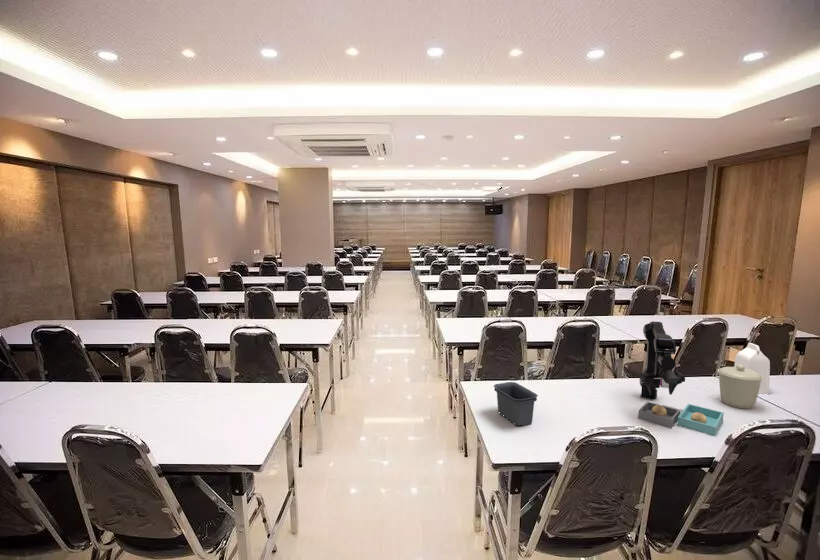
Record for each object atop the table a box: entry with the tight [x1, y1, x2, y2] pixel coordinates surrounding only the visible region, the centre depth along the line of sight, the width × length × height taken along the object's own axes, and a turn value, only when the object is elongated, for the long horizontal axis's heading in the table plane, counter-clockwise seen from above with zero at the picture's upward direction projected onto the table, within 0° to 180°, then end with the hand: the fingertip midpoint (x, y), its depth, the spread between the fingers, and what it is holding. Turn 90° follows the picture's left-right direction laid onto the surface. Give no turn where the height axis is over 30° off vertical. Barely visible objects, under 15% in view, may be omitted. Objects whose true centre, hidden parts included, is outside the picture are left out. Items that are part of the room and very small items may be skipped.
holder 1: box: [637, 401, 680, 429], centre depth 191 cm, size 14×14×4 cm
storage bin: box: [493, 381, 539, 427], centre depth 193 cm, size 21×16×14 cm
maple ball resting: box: [691, 412, 707, 424], centre depth 182 cm, size 6×6×6 cm
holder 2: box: [676, 403, 725, 437], centre depth 186 cm, size 14×20×4 cm
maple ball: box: [652, 404, 667, 417], centre depth 191 cm, size 6×6×6 cm
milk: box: [733, 342, 771, 395], centre depth 222 cm, size 12×12×26 cm
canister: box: [717, 364, 763, 409], centre depth 204 cm, size 18×18×21 cm
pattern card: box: [661, 404, 684, 414], centre depth 199 cm, size 9×6×1 cm, turn 44°
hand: (660, 394), depth 190 cm, fingers open, 9 cm apart
